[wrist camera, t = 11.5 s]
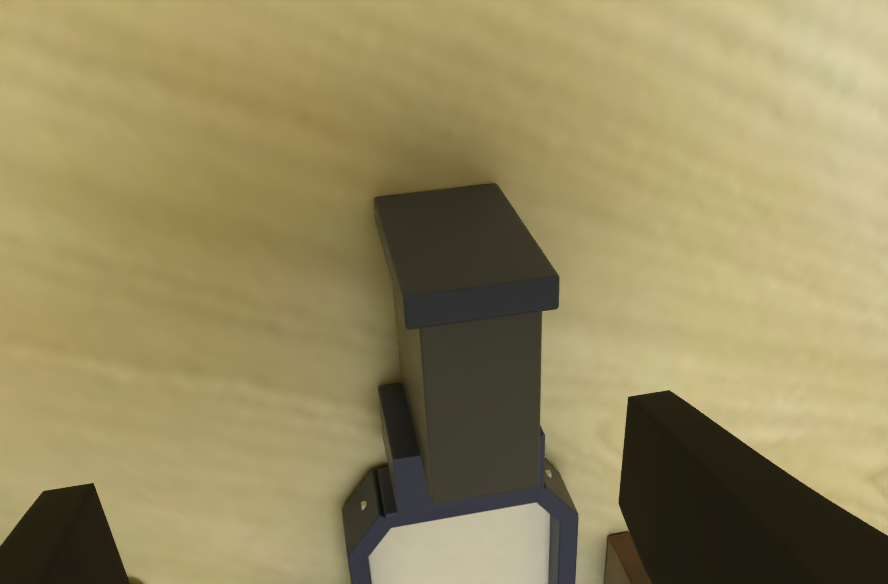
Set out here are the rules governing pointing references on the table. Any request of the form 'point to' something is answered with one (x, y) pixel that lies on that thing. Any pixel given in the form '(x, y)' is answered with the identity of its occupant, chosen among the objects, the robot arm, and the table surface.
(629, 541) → the frame
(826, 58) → the table surface
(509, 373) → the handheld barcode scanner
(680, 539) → the robot arm
